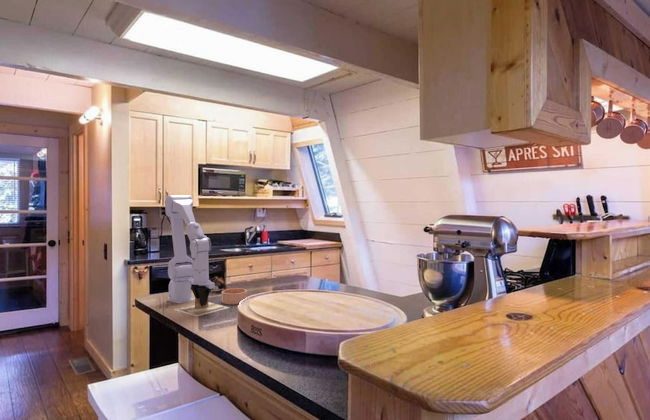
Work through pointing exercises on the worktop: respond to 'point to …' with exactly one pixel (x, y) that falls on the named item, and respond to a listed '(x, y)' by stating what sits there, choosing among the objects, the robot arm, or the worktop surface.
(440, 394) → the worktop surface
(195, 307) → the birch lid
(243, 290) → the terracotta bowl
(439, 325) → the worktop surface
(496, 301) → the worktop surface
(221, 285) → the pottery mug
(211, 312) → the grey mat
